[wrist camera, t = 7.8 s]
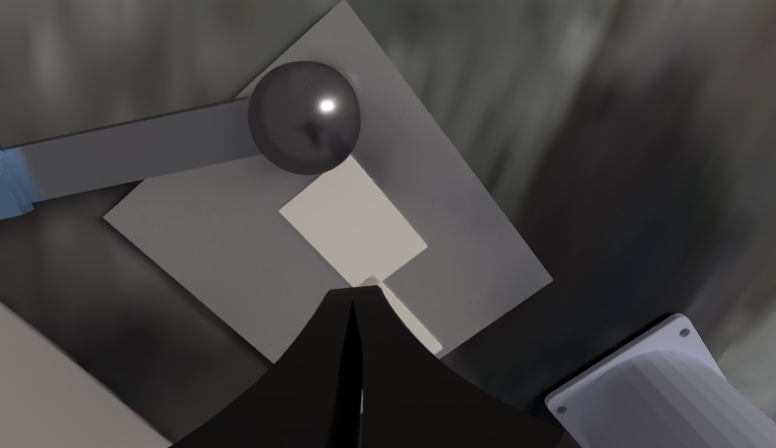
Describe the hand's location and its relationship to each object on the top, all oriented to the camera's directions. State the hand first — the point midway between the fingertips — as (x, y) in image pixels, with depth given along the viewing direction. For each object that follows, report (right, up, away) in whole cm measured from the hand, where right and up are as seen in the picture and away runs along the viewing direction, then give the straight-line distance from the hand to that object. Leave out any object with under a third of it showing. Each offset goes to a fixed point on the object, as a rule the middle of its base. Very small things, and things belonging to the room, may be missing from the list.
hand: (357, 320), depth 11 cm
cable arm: (-6, +6, +4) cm, 9 cm away
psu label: (0, +2, +6) cm, 7 cm away
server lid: (-1, +2, +7) cm, 7 cm away
